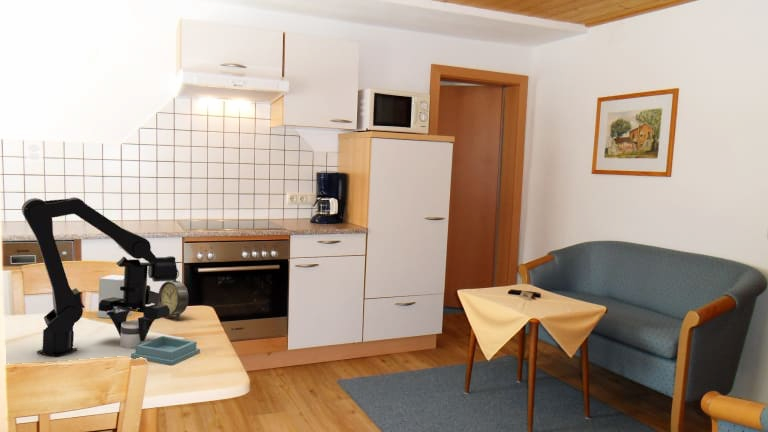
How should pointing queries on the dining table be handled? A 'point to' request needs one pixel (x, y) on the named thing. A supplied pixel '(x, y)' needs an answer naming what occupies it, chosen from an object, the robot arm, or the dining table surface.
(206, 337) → the dining table surface
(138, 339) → the lens
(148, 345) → the square tray
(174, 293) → the alarm clock
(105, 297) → the supplement box
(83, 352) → the dining table surface
